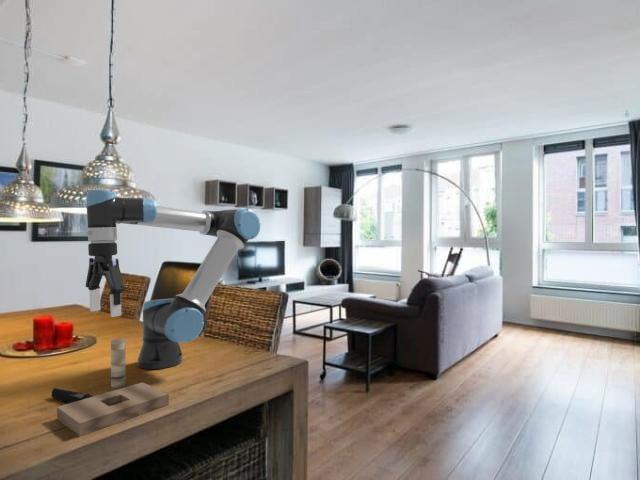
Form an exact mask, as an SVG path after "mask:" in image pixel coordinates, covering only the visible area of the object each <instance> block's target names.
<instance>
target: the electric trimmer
mask: <svg viewBox="0 0 640 480" xmlns="http://www.w3.org/2000/svg"><path fill="white" fill-rule="evenodd" d="M93 396H94V395H92V394H90V393H86V394H85V393H81V392H77V391H72V390H66V389H62V388H58V387H54V388H52V391H51V397H52V398H54V399H55V400H58V401H61V402H62V403H73V402H76V401H79V400H83V399H86V398H90V397H93Z"/></svg>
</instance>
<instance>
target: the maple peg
mask: <svg viewBox="0 0 640 480" xmlns="http://www.w3.org/2000/svg"><path fill="white" fill-rule="evenodd" d="M126 340H127V339H126V338H123V337H122V338H114V339H111V341H110V388H112V389H121V388H124V387H126V383H127V382H126V381H127V380H126V377H127V373H126V372H127V371H126V367H127V366H126V361H127V360H126V353H127V352H126V344H127V343H126V342H127V341H126Z"/></svg>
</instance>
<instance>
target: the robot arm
mask: <svg viewBox="0 0 640 480" xmlns="http://www.w3.org/2000/svg"><path fill="white" fill-rule="evenodd" d="M85 207H86V218H87V231H85V232H86V235H87V239H88V240H87V241H88V242H90V243H88V245H87V247H88V248H87V249H88V251H87V252H88V253H87V254H88V256H90V258H88V268H87V274H86V275H87V276H86V281H85V288H88V291H89V292H88V293H89V312H91V313H92V312H98V311H101V290H100V289H101V287H100V284H101V280H102V279H103V276H104V278H105V280H106V282H107V285H108V288H109V290H110V292H109V293H108V294H109V302H110V305H109V307H110V309H109V310H110V317H111V318H115V317H120V316H122V314H123V313H122V293H123V292H125V291H126V288H125V284H124V280H123V275H122V273H121V269H120V268H121V267H120V263H119V258H113V256H116V255H118V243H117V242H116V241H117V240H118V233H117V232H118V231H117V230H118V229H117V224H125V225H126V224H127V225H136V226H137V225H138V226H146V227H155V228H165V229H172V230H173V229H174V230H181V231H192V232H198V233H199V234H200V235H203V236H204V235H205V236H211V237H215V238H217V239H216V240H215V242H214V243H213V245H212V247H211V248H210V250H209V251H208V253H206V256H205V258H203V261H202V262H201V264H200V266H199V267H198V268H197V270H196V272H195V273H194V275H193V276H192V278H191V279H190V281H189V283H188V284H187V286H186V287H185V289H184V290H183V292H182V293H180V294H176V295H175V296H174V297H173V298H162V299H153V300H147V301H144V303H143V307H142V310H141V311H142V345H141V348H140V351H139V353H138V357H137V366H138V367H139V368H142V369H145V370H159V369H166V368H170V367H171V368H172V367H174V366H177V365H179V364H181V363H182V362H183V352H182V348H181V346H180V344H179V343H184V344H185V343H189V342H191V341H194V340H195V339H196V338H197V337H198V336H199V335H200V334H201V333H202V331H203V328H204V324H205V322H204V320H205V319H204V315H206V312H207V310H206V307H205V306H206V303H207V302H208V300H209V298H210V297H211V295H212V293H213V292H214V290H215V288H216V287H217V285H218V283H219V282H220V281H221V278H222V277H223V275H224V274H225V272H226V270H227V269H228V267H229V265H230V264H231V262H232V260H233V258H234V257H235V255H236V254H237V252H238V250H242V249H245V247H246V245H247V243H248V241H249V240H253V239H255V238H256V237H257V236H258V235H259V233H260V230H261V223H260V218H259V215H258V214H257V213H256V212H255V211H254V210H252V209H250V208H245V207H240V208H238V209H237V208H236V209H223V210H206V209H204V210H202V211H194V210H188V209H181V208H173V207H166V206H159V205H157V203H156V201H154V199H152V198H145V197H143V198H142V197H118V196H117V194H116V193H115V190H112V189H97V188H96V189H90V190H88V191H87V193H86V205H85Z"/></svg>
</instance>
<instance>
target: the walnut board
mask: <svg viewBox="0 0 640 480" xmlns="http://www.w3.org/2000/svg"><path fill="white" fill-rule="evenodd" d="M92 396H93V397H90V398H86V399H83V400H79V401H76V402H73V403H72V402H68V403H66V404H62V405H59V406H57V407H56V419H57V421H59V422H60V423H62V424H63V425H64V426H65V427H67V428H68V429H69V430H70V431H72V432H73V433H74V434H76V435H77V436H78V437H82V436H85V435H88V434H90V433H91V434H92V433H94V432H96V431H99V430H102V429H105V428H107V427H110V426H113V425H116V424H119V423H121V422H124V421H127V420H130V419H132V418H133V419H134V418H136V417H139V416H141V415H144V414H147V413H150V412H153V411H155V410H156V411H157V410H158V409H162V408H164V407H167V406H169V405H170V404H169V398H170V397H169V393H167V392H165V391H163V390H161V389H159V388H157V387H154V386H152V385H150V384H147V383H145V382H139V383H138V382H137V383H135V384H132V385H128V386H123V387H120V388H117V389H114V390H110V391H107V392H104V393H99V394H97V395H92Z"/></svg>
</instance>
